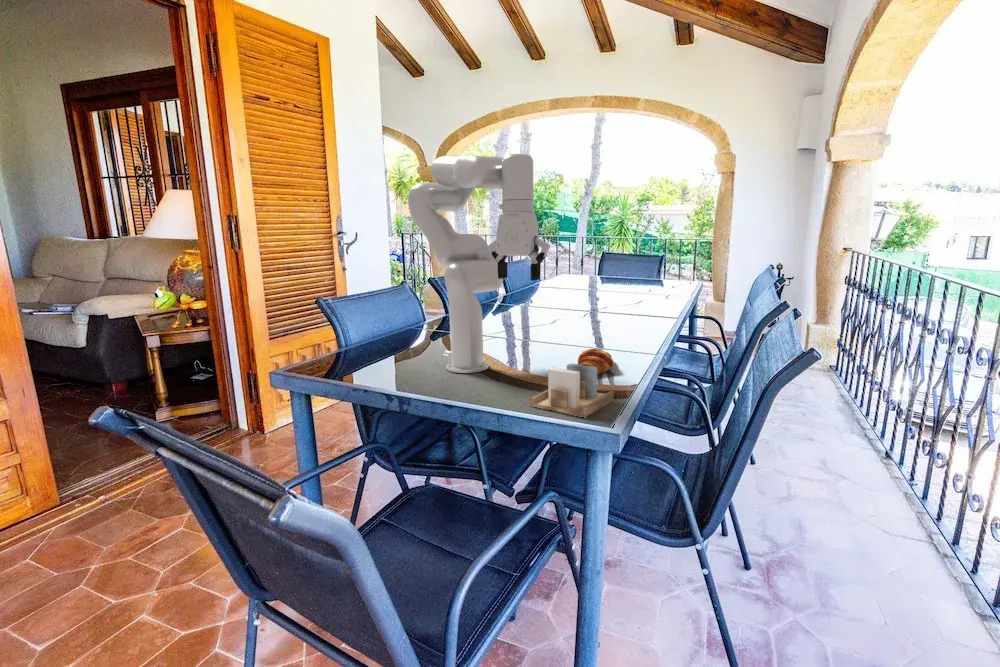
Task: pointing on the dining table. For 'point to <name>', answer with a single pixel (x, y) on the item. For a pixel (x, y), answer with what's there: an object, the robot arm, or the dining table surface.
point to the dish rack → (588, 395)
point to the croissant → (596, 360)
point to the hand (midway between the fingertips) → (518, 279)
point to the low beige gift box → (565, 384)
